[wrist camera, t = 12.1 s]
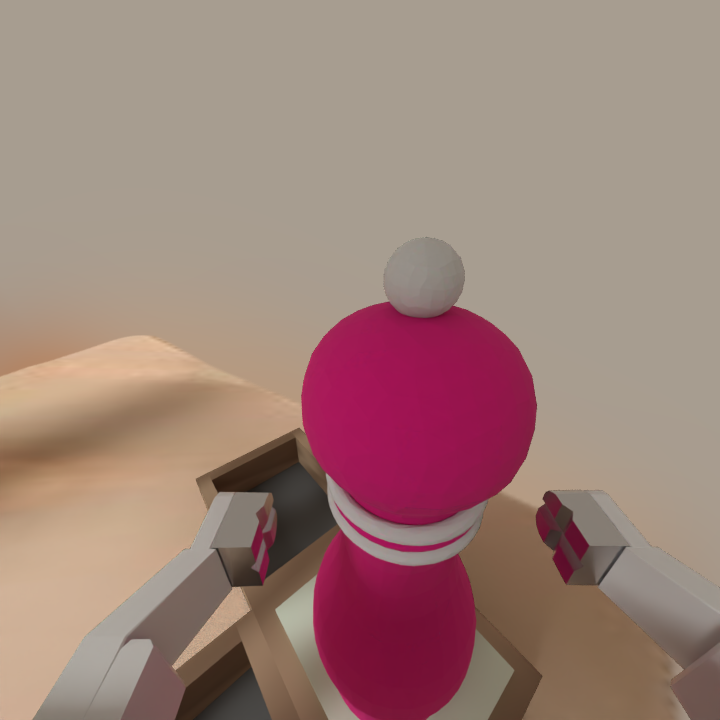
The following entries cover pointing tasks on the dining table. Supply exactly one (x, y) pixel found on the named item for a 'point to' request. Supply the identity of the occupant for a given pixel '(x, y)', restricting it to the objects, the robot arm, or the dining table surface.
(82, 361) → the dining table surface
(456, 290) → the pepper mill
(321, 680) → the box
